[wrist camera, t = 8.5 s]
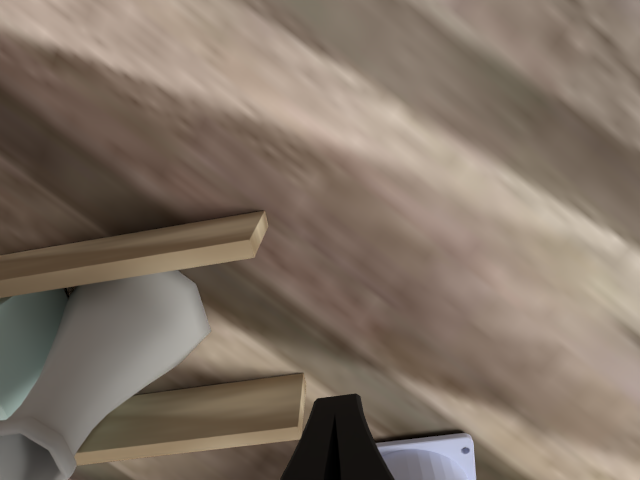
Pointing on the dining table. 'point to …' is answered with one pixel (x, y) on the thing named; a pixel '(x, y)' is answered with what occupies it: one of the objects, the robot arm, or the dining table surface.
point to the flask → (99, 367)
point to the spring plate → (26, 342)
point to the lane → (177, 405)
